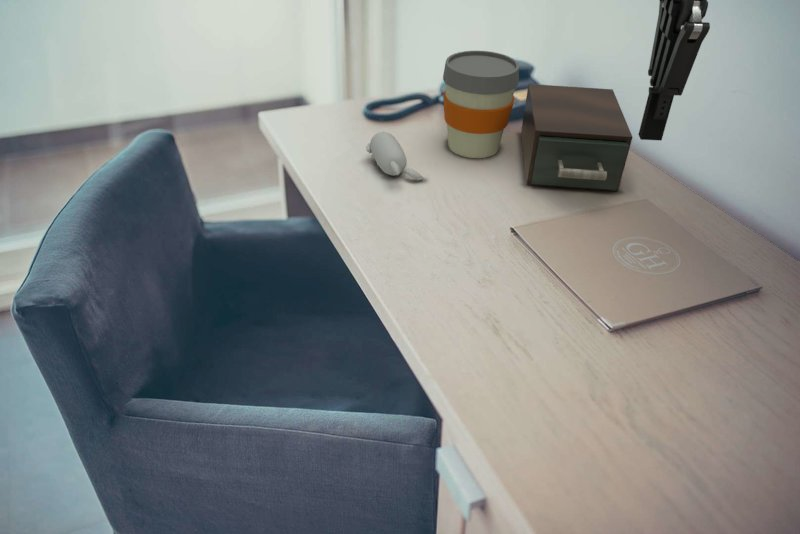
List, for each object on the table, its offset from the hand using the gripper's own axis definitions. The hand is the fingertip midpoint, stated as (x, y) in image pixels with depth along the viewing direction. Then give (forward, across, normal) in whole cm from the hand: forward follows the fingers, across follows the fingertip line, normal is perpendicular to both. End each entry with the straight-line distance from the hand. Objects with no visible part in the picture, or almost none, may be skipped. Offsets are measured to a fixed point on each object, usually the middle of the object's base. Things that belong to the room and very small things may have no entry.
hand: (649, 137), depth 85 cm
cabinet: (+15, +20, +6) cm, 26 cm away
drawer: (+14, +16, +6) cm, 22 cm away
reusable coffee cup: (+15, +24, +22) cm, 36 cm away
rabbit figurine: (+14, +12, +36) cm, 40 cm away
